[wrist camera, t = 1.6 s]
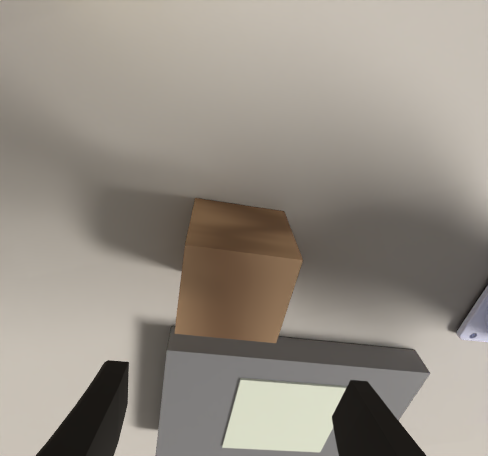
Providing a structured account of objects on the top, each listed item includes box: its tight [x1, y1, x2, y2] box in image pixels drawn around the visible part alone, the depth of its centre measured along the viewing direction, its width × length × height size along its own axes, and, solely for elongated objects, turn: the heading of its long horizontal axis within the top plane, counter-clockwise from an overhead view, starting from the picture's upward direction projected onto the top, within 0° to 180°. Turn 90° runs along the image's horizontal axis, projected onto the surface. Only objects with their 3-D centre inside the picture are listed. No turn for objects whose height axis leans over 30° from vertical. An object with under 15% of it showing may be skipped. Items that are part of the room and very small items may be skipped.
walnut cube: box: [175, 198, 303, 343], centre depth 17 cm, size 5×5×5 cm
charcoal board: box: [156, 326, 430, 456], centre depth 24 cm, size 18×12×2 cm, turn 79°
